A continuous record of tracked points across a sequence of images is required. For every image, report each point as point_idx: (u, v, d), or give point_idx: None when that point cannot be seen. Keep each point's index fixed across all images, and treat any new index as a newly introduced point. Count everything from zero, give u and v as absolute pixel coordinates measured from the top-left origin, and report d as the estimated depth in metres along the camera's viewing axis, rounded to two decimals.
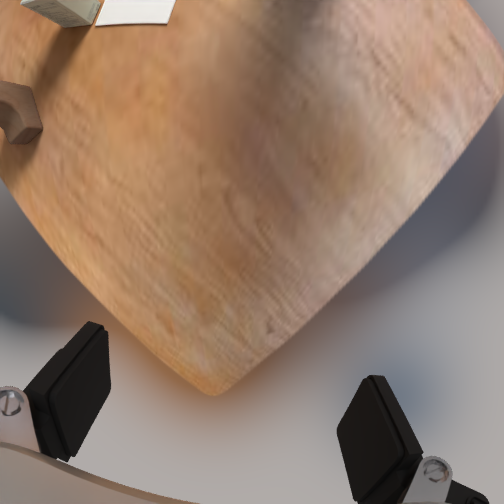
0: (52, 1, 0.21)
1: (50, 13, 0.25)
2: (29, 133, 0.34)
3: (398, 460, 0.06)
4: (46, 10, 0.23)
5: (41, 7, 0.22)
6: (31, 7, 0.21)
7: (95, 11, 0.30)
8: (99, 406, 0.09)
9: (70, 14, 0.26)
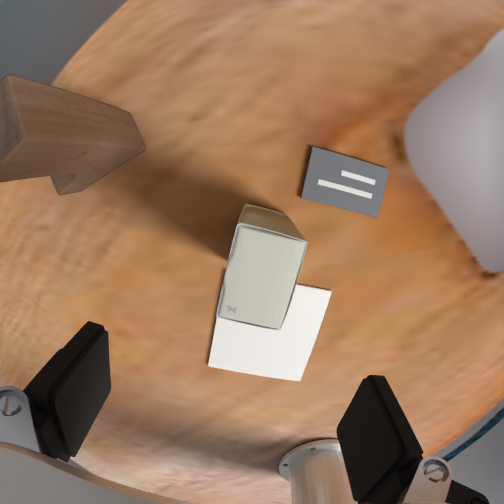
0: None
1: None
2: None
3: (398, 460, 0.06)
4: None
5: None
6: None
7: None
8: (99, 406, 0.09)
9: None
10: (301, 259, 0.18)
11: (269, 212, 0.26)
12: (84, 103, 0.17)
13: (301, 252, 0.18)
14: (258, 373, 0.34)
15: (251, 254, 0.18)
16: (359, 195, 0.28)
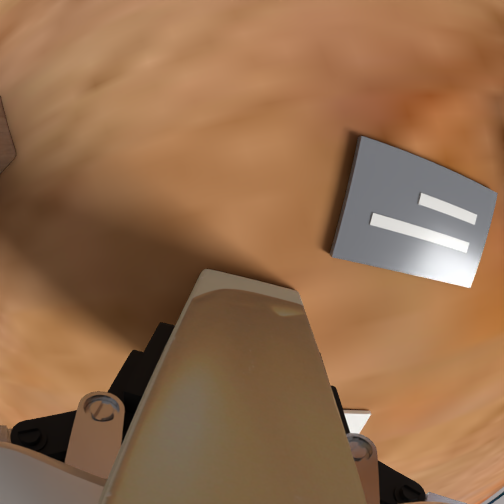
0: None
1: None
2: None
3: None
4: None
5: None
6: None
7: None
8: None
9: None
10: None
11: (257, 309, 0.10)
12: None
13: None
14: None
15: None
16: (448, 246, 0.12)
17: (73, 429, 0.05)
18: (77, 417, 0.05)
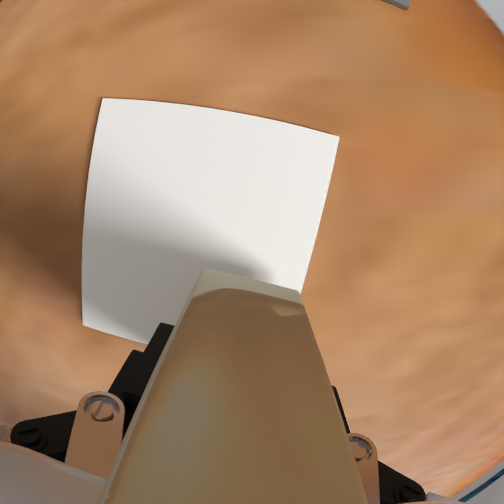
0: None
1: None
2: None
3: None
4: None
5: None
6: None
7: None
8: None
9: None
10: None
11: (257, 308, 0.10)
12: None
13: None
14: None
15: None
16: None
17: (73, 429, 0.05)
18: (77, 417, 0.05)
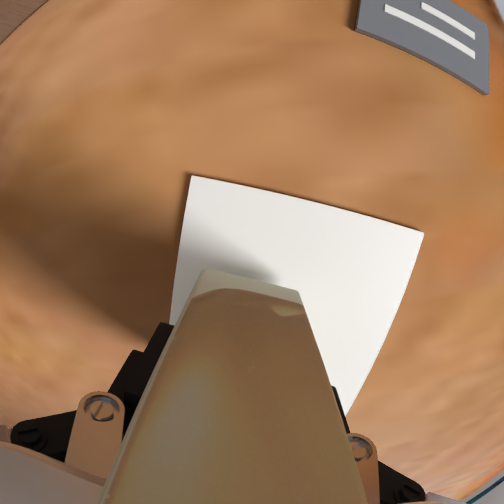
0: None
1: None
2: None
3: None
4: None
5: None
6: None
7: None
8: None
9: None
10: None
11: (257, 309, 0.10)
12: None
13: None
14: None
15: None
16: (457, 48, 0.10)
17: (73, 429, 0.05)
18: (77, 417, 0.05)
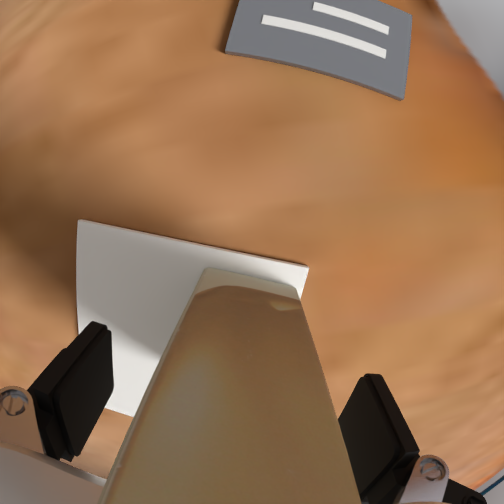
0: None
1: None
2: None
3: (394, 458, 0.06)
4: None
5: None
6: None
7: None
8: (102, 405, 0.09)
9: None
10: None
11: (256, 304, 0.11)
12: None
13: None
14: None
15: None
16: (359, 48, 0.11)
17: None
18: None
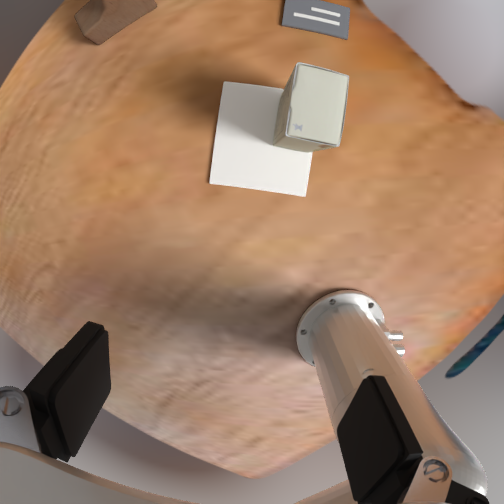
0: (283, 128, 0.23)
1: (283, 101, 0.25)
2: None
3: (398, 460, 0.06)
4: (285, 100, 0.24)
5: (287, 97, 0.23)
6: (291, 78, 0.22)
7: (293, 149, 0.32)
8: (99, 406, 0.09)
9: (277, 131, 0.28)
10: (346, 88, 0.20)
11: None
12: None
13: (345, 83, 0.20)
14: (261, 187, 0.34)
15: (309, 82, 0.20)
16: (329, 23, 0.28)
17: None
18: None
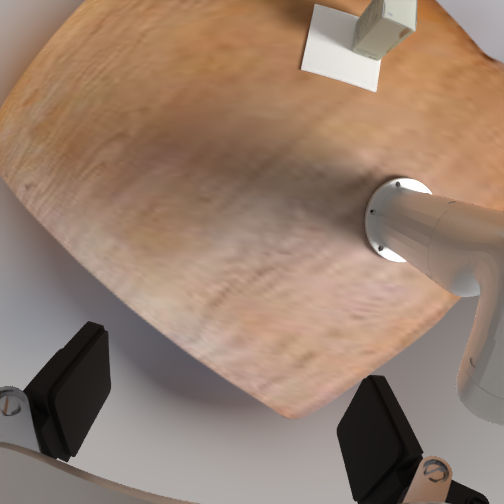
0: (377, 17, 0.24)
1: (369, 11, 0.27)
2: None
3: (398, 460, 0.06)
4: (372, 8, 0.26)
5: (376, 4, 0.24)
6: None
7: (367, 55, 0.34)
8: (99, 406, 0.09)
9: (363, 32, 0.29)
10: (416, 2, 0.22)
11: None
12: None
13: (415, 0, 0.22)
14: (342, 79, 0.36)
15: None
16: None
17: None
18: None
